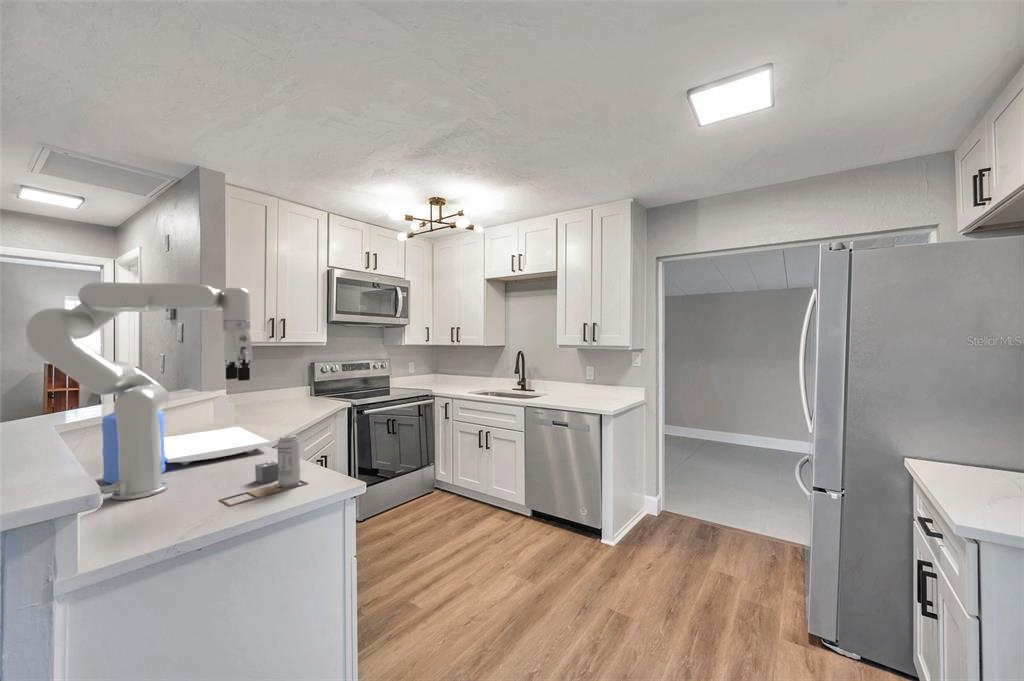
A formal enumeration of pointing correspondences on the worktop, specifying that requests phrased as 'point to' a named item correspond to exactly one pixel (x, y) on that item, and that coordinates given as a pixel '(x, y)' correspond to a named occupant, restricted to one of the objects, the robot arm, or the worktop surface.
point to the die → (266, 472)
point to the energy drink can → (288, 461)
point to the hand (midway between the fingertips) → (237, 379)
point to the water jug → (112, 447)
